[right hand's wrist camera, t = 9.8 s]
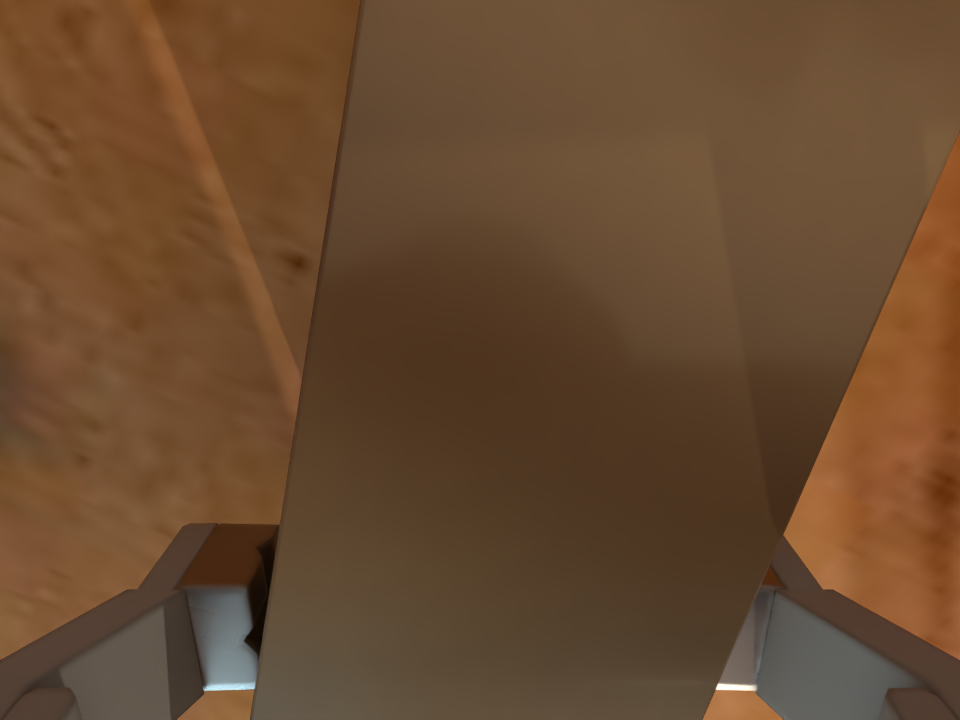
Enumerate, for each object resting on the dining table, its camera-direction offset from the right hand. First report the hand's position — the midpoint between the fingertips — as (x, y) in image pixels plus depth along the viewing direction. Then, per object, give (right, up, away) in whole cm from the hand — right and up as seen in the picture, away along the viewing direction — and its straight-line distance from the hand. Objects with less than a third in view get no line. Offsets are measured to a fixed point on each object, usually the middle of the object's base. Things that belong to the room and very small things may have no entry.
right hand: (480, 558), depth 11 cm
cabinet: (+1, +6, +5) cm, 8 cm away
